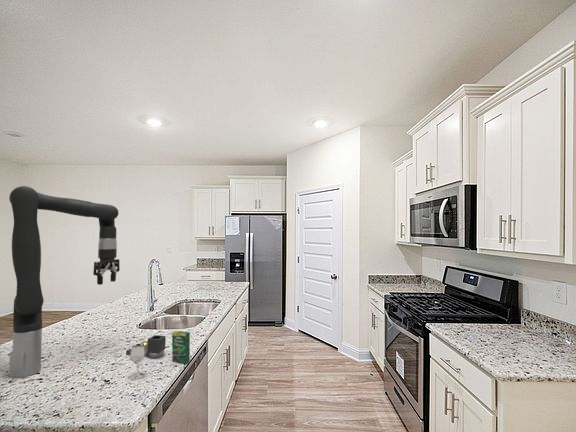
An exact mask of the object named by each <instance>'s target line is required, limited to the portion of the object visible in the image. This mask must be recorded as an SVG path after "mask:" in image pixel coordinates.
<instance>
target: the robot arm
mask: <svg viewBox="0 0 576 432" xmlns="http://www.w3.org/2000/svg"><path fill="white" fill-rule="evenodd" d="M8 199H9V202H10V204H11V209H12V216H13V226H12V227H13V228H12V236H11V258H12V266H13V270H14V273H15V279H16V292H15V293H16V294H15V297H14V300H13V315H12V316H13V320H12V323H13V324H12V325H13V327H12V328H13V330H12V351H10V352H9V369H8V370H9V371H8V376H9V378H10V377H11V378H20V379H21V378H26V377H29V376H33V375H34V374H38V373H39V372H40V371H41V369H42V364H41V363H42V345H43V344H42V343H43V342H42V341H43V340H42V337H43V314H42V313H43V312H42V311H43V304H44V302H45V301H44V296H43V292H42V287H41V286H42V285H41V269H42V268H41V267H42V246H41V245H42V244H41V236H40V235H41V234H40V229H39V225H38V210H42V211H52V212H57V213H63V214H68V215H71V216H79V217H84V218H94V219H95V218H96V219H98V225H99V232H98V233H99V234H98V238H99V239H98V245H97V246H98V247H97V248H98V251H97V253H98V254H97V258H98V259H99V261H94V263H93V276H96V283H97V285H99V286H101V285H103V283H104V276H103V275H104V274H105V273H106V272H107V271H109V272H110V282H111V283H112V282H116V279H117V274H118V272H120V259H118V258H117V252H118V251H117V249H118V246H117V245H118V243H117V227H116V223H115V219H117V218H118V216H119V210H118V208H117V207H116V206H114V205H111V204H106V203H105V204H104V203H96V202H92V201H88V200H84V199H83V200H82V199H75V198H69V197H58V196H53V195H49V194H45V193H41V192H38V191H36V190H35V188H33V187H30V186H26V185H22V186H21V185H20V186H18V187H16V188H13V190H11V192H10V193H9V198H8Z"/></svg>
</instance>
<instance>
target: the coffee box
mask: <svg viewBox="0 0 576 432" xmlns="http://www.w3.org/2000/svg"><path fill="white" fill-rule="evenodd" d="M171 333H172V334H171V338H172V339H171V341H172V343H171V344H172V345H171V349H172V350H171V351H172V352H171V354H172V358H171V359H172V360H171V361H172V362H174V363H179V364H183V365H188V364H189V363H190V361H191V360H190V358H191V357H190V354H191V352H190V351H191V350H190V349H191V348H190V346H191V344H190V343H191V339H190V338H191V335H190V334H191V333H190V332H189V331H182V330H174V331H172V332H171Z"/></svg>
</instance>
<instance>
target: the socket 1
mask: <svg viewBox="0 0 576 432" xmlns="http://www.w3.org/2000/svg"><path fill="white" fill-rule="evenodd" d="M147 343H148V340H144V341H141V342H140V344H144V345H145V348H146V350H147Z"/></svg>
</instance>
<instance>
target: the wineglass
mask: <svg viewBox="0 0 576 432" xmlns="http://www.w3.org/2000/svg"><path fill="white" fill-rule="evenodd" d="M130 349H131V352H130V355H129V358H130V361H131V362H134V363H136V373H135V374H133V375H132V376H131V379H133V380H136V379H141V378H143V377H144V374H143V373H139V367H140V363H141V362H142V361H144V360H145V358H146V348H145V345H144V344H141V343H136V344H133V345H132V346H131V348H130Z"/></svg>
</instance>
